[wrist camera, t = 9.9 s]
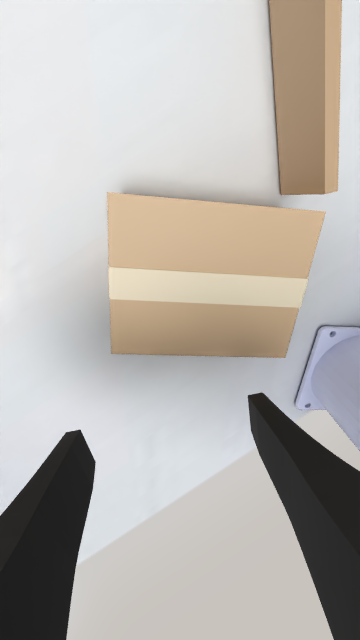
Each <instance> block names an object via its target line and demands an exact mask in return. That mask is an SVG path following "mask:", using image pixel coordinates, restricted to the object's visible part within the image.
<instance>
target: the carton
mask: <svg viewBox="0 0 360 640" xmlns="http://www.w3.org/2000/svg"><path fill="white" fill-rule="evenodd" d="M107 207H108V246H109V267H108V275H109V299H110V323H111V354H146V355H188V356H230V357H273V358H285V357H286V353H287V350H288V346H289V342H290V339H291V335H292V332H293V328H294V324H295V321H296V317H297V314H298V310H299V308H301V305H302V301H303V297H304V294H305V290H306V287H307V283H308V280H309V279H308V274H309V271H310V267H311V263H312V260H313V256H314V253H315V249H316V246H317V242H318V238H319V235H320V231H321V228H322V224H323V220H324V217H325V213H326V212H324V211H312V210H301V209H290V208H279V207H267V206H256V205H245V204H233V203H222V202H211V201H200V200H188V199H177V198H166V197H154V196H143V195H132V194H121V193H109V192H107Z"/></svg>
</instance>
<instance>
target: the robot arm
mask: <svg viewBox="0 0 360 640" xmlns="http://www.w3.org/2000/svg"><path fill="white" fill-rule="evenodd" d="M332 331H333V333H332V334H331V335H330V333H331V332H332ZM248 403H249V414H250V424H251V432H252V434H253V437H254V440H255V443H256V446H257V449H258V451H259V454H260V456H261V459H262V461H263V463H264V465H265V467H266V469H267V471H268V473H269V475H270V478H271V480H272V482H273V484H274V486H275V488H276V490H277V492H278V494H279V497H280V499H281V501H282V503H283V505H284V507H285V509H286V512H287V514H288V516H289V519H290V521H291V523H292V526H293V528H294V531H295V534H296V536H297V539H298V541H299V544H300V547H301V550H302V552H303V555H304V558H305V560H306V563H307V566H308V568H309V571H310V574H311V577H312V579H313V582H314V584H315V587H316V590H317V593H318V596H319V598H320V602H321V604H322V607H323V610H324V613H325V616H326V618H327V621H328V624H329V627H330V629H331V633H332V636H333V638H334V640H360V471H358V470H357V469H355V468H354V467H352V466H351V465H349V464H348V463H346V462H345V461H343V460H342V459H340V458H339V457H337V456H336V455H334V454H333V453H332V452H330V451H329V450H328V449H326V448H325V447H324V446H322V445H321V444H320V443H319V442H317V441H316V440H314V439H313V438H312V437H311V436H310V435H308V434H307V433H306V432H305V431H304V430H302V429H301V428H300V427H299V426H298V425H297V424H295V423H294V422H293V421H292V420H291V419H290V418H289V417H287V416H286V415H285V414H284V413H283V412H282V411H281V410H280V409H279V408H278V407H277V406H276V405H275V404H274V403H273V402H272V401H271V400H270V399H269V398H268V397H267V396H266V395H265V394H263V393H257V394H252V395H248ZM307 403H308V404H307ZM295 405H296V407H297V408H298V409H300V410H327V411H328V412H329V414H330V415H331V416H332V417H333V418H334V420H335V421H336V422H337V424H338V425H339V426H340V427H341V429H342V430H343V431H344V432H345V433H346V435H347V436H348V437H349V438H350V440H351V441H352V442H353V443H354V445H355V446H356V447H357V448H358V450H359V451H360V327H335V326H324V327H322V328H320V329H319V331H318V334H317V337H316V340H315V343H314V346H313V349H312V352H311V355H310V358H309V362H308V365H307V368H306V371H305V374H304V377H303V380H302V383H301V386H300V390H299V393H298V396H297V399H296V402H295ZM95 463H96V462H95V460H94V458H93V456H92V454H91V451H90V449H89V447H88V445H87V443H86V441H85V438H84V436H83V434H82V432H81V430H76V431H71V432H66V433H65V435H64V436H63V437H62V439H61V440H60V441H59V443H58V444H57V445H56V447H55V448H54V449H53V451H52V452H51V453H50V455H49V456H48V457H47V459H46V460H45V461H44V463H43V464H42V465H41V467H40V468H39V469H38V470H37V472H36V473H35V474H34V476H33V477H32V478H31V480H30V481H29V482H28V483H27V485H26V486H25V487H24V488H23V489H22V491H21V492H20V493H19V494H18V495H17V497H16V498H15V499H14V500H13V502H12V503H11V504H10V505H9V506H8V508H7V509H6V510H5V511H4V512H3V513H2V515H1V516H0V640H66V636H67V628H68V620H69V612H70V604H71V596H72V589H73V582H74V574H75V568H76V562H77V557H78V552H79V548H80V543H81V539H82V534H83V530H84V526H85V521H86V517H87V513H88V508H89V504H90V499H91V494H92V490H93V482H94V473H95Z"/></svg>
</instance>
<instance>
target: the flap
mask: <svg viewBox="0 0 360 640" xmlns="http://www.w3.org/2000/svg"><path fill="white" fill-rule="evenodd" d="M269 6H270V22H271V38H272V54H273V71H274V87H275V103H276V120H277V136H278V152H279V169H280V185H281V195H301V194H327V193H331V192H335V191H338V159H339V110H340V62H341V13H342V0H269Z"/></svg>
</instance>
